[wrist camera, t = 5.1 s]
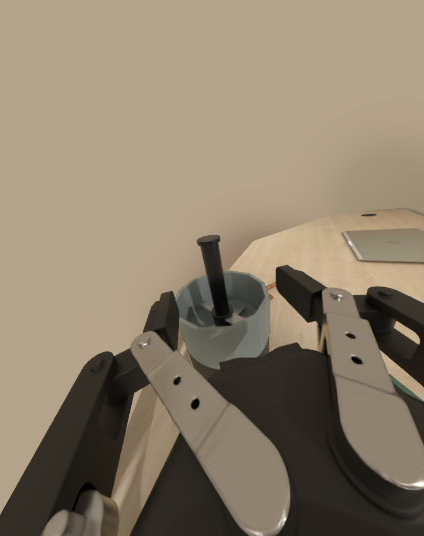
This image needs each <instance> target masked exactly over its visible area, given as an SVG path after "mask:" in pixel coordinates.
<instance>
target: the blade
mask: <svg viewBox="0 0 424 536" xmlns="http://www.w3.org/2000/svg"><path fill="white" fill-rule="evenodd" d="M219 241H220V236H219V235H208V236H204V237H201V238H199V239H198V240H197V244H198V245H199V246H200V247H201V251H202V256H203V260H204V264H205V269H206V274H207V278H208V283H209V287H210V292H211V297H212V301H211V300H209V299H206V300H205V301H203V302H202V303H200V306H202V307H203V308H205V309H207V310H208V311H210V312H212V316H213V321H214V324H213V325H212V326H211V327H219V326H231V325H233V324H235V323H237V322H239V321H241V320H243V319H245V318H243V317H241V316H239V314H240V313H241V312H243V311H244V310H245V309H246V307H245V306H242V305H240V304H238V303H237V304H236V305H235V306H234V307H233V308H232V306H231V305H230V304H228V298H227V292H226V286H225V280H224V274H223V268H222V263H221V256H220V250H219V244H218V242H219Z"/></svg>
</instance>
